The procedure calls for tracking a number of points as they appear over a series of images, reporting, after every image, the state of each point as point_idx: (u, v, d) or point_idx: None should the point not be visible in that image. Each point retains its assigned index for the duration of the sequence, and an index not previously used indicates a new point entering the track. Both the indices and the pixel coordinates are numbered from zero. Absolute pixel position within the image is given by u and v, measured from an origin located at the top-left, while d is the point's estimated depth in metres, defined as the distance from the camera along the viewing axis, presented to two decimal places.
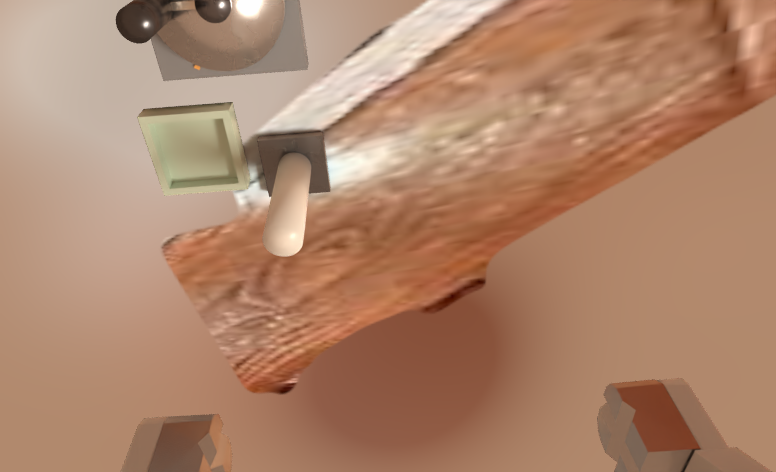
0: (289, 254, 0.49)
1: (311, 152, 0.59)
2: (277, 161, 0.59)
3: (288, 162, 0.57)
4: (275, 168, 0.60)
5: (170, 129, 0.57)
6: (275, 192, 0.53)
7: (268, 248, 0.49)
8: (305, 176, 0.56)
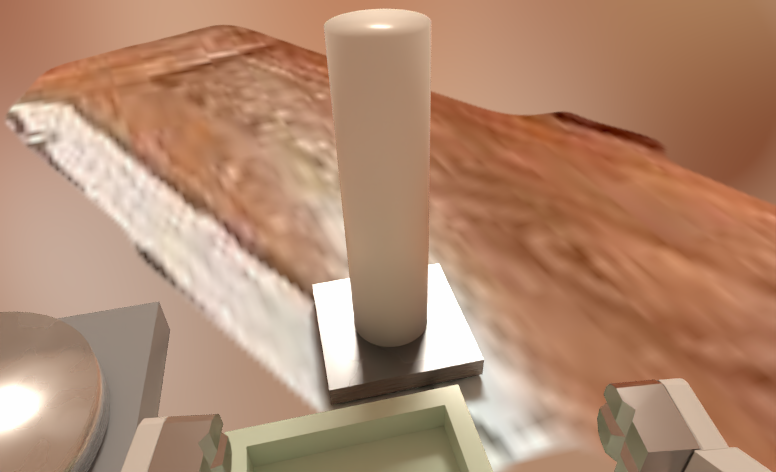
0: (421, 15, 0.19)
1: (351, 296, 0.28)
2: (381, 349, 0.25)
3: (352, 294, 0.25)
4: (400, 352, 0.25)
5: None
6: (353, 201, 0.21)
7: (409, 32, 0.17)
8: None
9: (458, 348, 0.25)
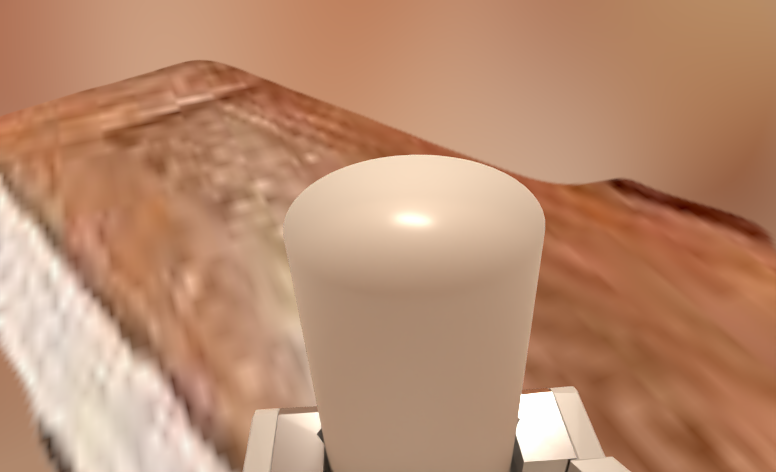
0: (510, 184, 0.08)
1: None
2: None
3: None
4: None
5: None
6: None
7: (502, 265, 0.07)
8: None
9: None
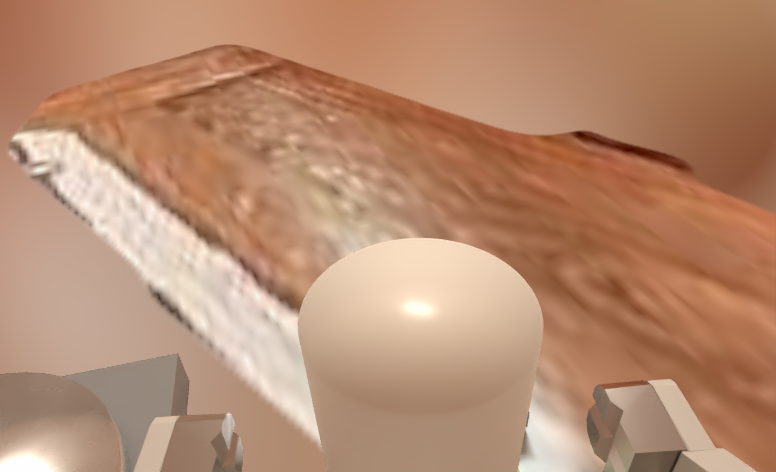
0: (511, 277, 0.09)
1: None
2: None
3: None
4: None
5: None
6: None
7: (502, 375, 0.07)
8: None
9: None
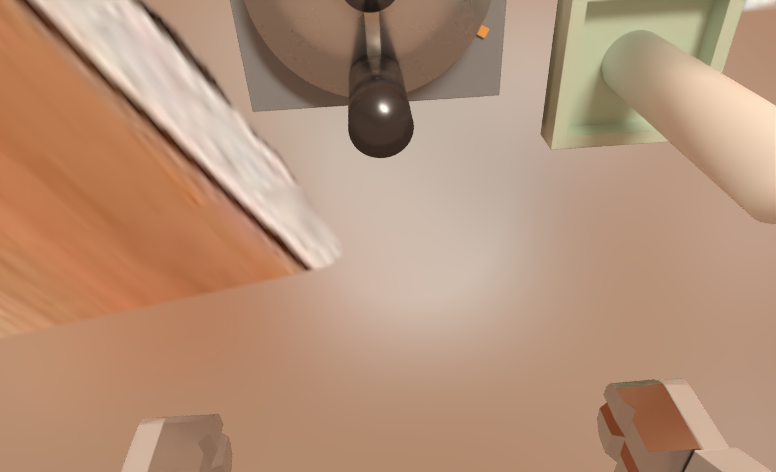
0: None
1: None
2: None
3: (617, 81, 0.30)
4: None
5: (584, 101, 0.33)
6: (668, 139, 0.26)
7: None
8: (656, 57, 0.27)
9: None
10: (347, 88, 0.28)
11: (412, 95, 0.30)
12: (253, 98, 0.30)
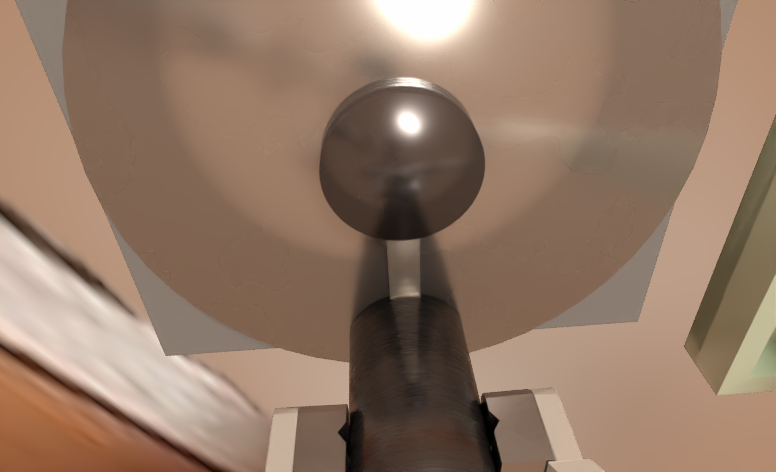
0: None
1: None
2: None
3: None
4: None
5: None
6: None
7: None
8: None
9: None
10: (347, 350, 0.13)
11: None
12: (164, 337, 0.15)
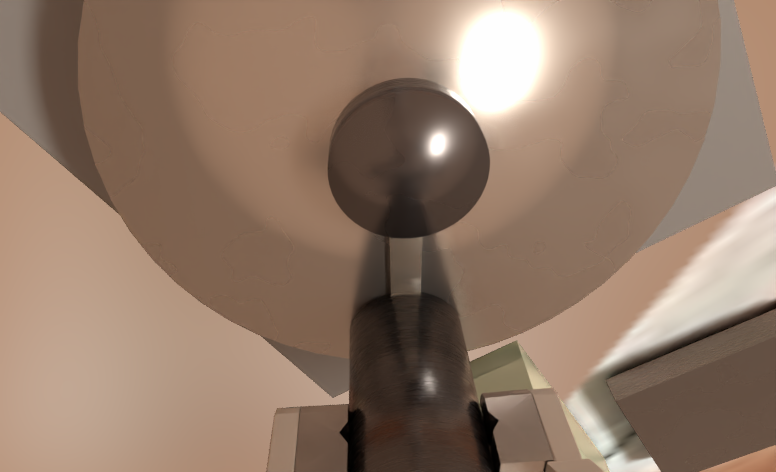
0: None
1: None
2: (679, 418, 0.21)
3: None
4: (676, 432, 0.22)
5: None
6: None
7: None
8: None
9: (682, 465, 0.23)
10: (346, 346, 0.14)
11: None
12: None
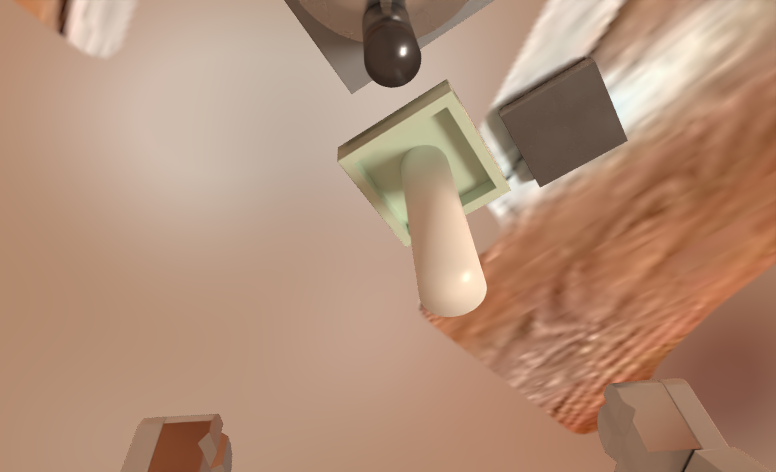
0: (472, 307, 0.29)
1: (584, 95, 0.37)
2: (537, 132, 0.39)
3: (411, 165, 0.37)
4: (537, 144, 0.39)
5: (381, 157, 0.39)
6: (411, 218, 0.33)
7: (436, 312, 0.29)
8: (444, 174, 0.36)
9: (546, 173, 0.41)
10: (360, 33, 0.31)
11: (309, 25, 0.33)
12: None
